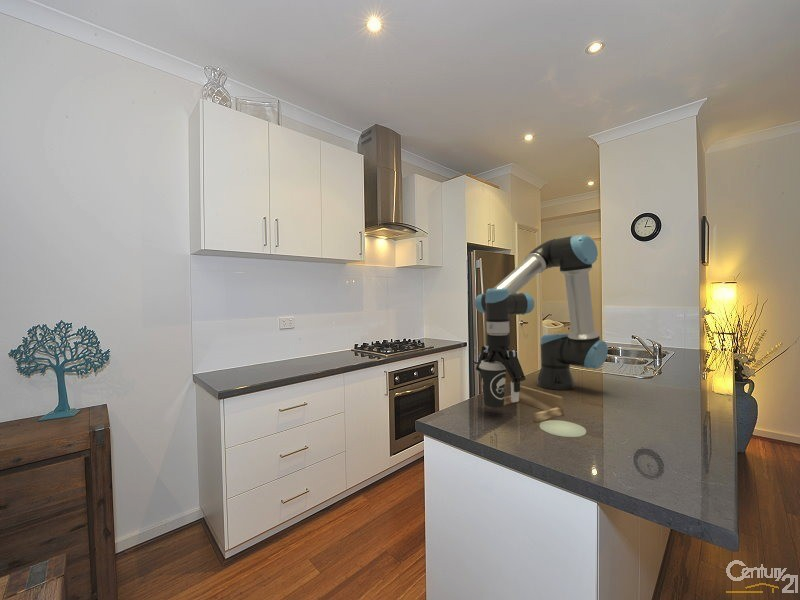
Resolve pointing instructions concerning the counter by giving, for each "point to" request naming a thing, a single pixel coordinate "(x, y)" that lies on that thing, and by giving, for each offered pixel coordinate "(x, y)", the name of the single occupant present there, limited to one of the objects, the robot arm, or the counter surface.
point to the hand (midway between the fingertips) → (499, 396)
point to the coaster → (562, 428)
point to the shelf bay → (540, 403)
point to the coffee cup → (493, 383)
